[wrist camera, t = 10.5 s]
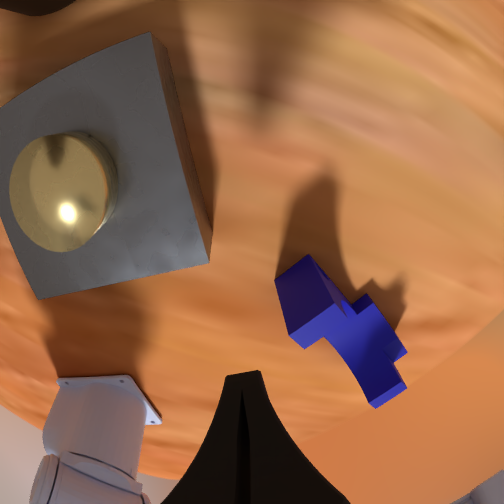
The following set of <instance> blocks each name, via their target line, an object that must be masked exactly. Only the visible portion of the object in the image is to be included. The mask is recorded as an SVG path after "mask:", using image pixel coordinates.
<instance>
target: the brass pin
mask: <svg viewBox="0 0 504 504" xmlns="http://www.w3.org/2000/svg"><path fill="white" fill-rule="evenodd" d="M117 194H118V179H117V173H116V169H115V166H114V163H113V161H112V159H111V157H110V155H109V153H108V152H107V150H106V149H105V148H104V147H103V146H102V144H101V143H100V142H98V141H97V140H96V139H95V138H93V137H91V136H90V135H87V134H85V133H81V132H76V131H69V132H62V133H57V134H52V135H47V136H43V137H40V138H37V139H35V140H33V141H32V142H31V143H29V144H28V145H27V146H26V147H25V148H24V149H23V150H22V151H21V152H20V154H19V155H18V157H17V159H16V161H15V163H14V165H13V168H12V172H11V176H10V184H9V195H10V202H11V206H12V210H13V213H14V216H15V218H16V220H17V222H18V224H19V226H20V227H21V229H22V230H23V232H24V233H25V234H26V235H27V236H28V237H29V238H30V239H31V240H32V241H33V242H34V243H36V244H37V245H39V246H41V247H42V248H44V249H47V250H50V251H54V252H68V251H72V250H75V249H77V248H79V247H80V246H82V245H84V244H85V243H86V242H87V241H88V240H89V239H90V238H91V237H92V236H93V235H94V234H95V233H96V232H97V231H98V230H99V229H100V228H101V227H102V226H103V225H104V224H105V223H106V221H107V220H108V219H109V217H110V216H111V214H112V212H113V210H114V207H115V204H116V200H117Z"/></svg>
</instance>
